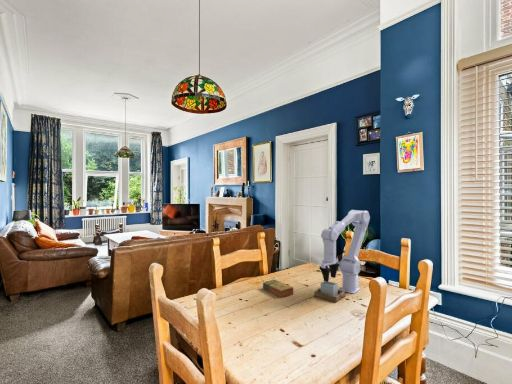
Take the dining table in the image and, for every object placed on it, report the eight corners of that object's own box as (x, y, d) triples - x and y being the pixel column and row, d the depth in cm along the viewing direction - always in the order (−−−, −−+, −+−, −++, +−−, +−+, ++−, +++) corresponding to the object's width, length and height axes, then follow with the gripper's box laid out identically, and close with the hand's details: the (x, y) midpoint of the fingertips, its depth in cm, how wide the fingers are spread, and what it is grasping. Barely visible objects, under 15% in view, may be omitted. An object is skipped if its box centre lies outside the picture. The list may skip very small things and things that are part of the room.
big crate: (323, 290, 146) (323, 286, 146) (345, 296, 138) (345, 291, 138) (314, 296, 139) (314, 291, 139) (336, 302, 131) (336, 297, 131)
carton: (281, 298, 137) (281, 290, 137) (262, 289, 150) (262, 281, 150) (293, 295, 141) (293, 286, 141) (274, 286, 155) (274, 278, 155)
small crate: (325, 292, 143) (325, 280, 143) (337, 295, 138) (337, 283, 138) (320, 294, 139) (320, 283, 139) (333, 298, 135) (333, 286, 135)
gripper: (329, 249, 147) (329, 274, 147) (315, 253, 136) (315, 281, 136) (341, 251, 142) (341, 277, 142) (328, 256, 131) (328, 284, 131)
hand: (329, 279), depth 139 cm, fingers open, 7 cm apart
